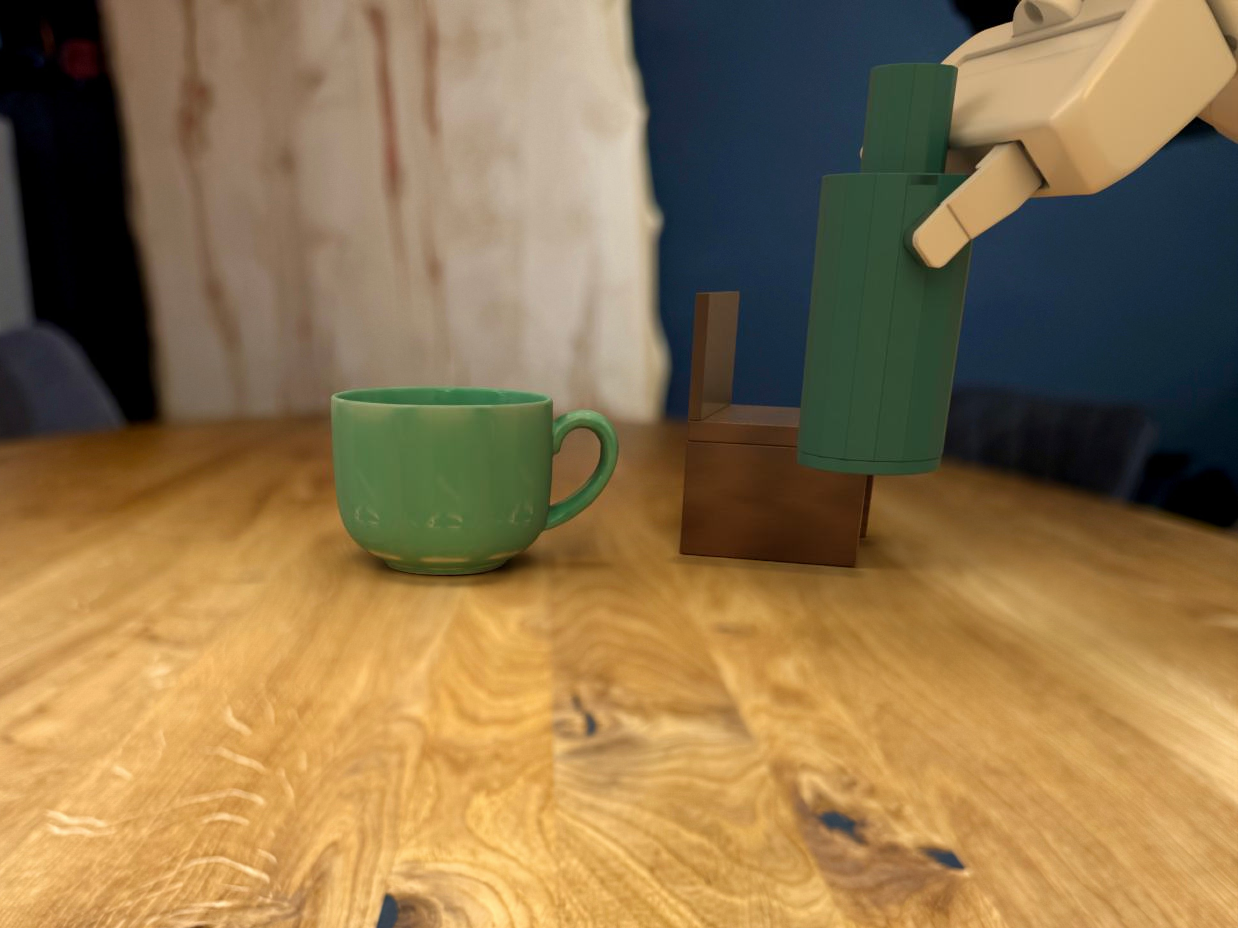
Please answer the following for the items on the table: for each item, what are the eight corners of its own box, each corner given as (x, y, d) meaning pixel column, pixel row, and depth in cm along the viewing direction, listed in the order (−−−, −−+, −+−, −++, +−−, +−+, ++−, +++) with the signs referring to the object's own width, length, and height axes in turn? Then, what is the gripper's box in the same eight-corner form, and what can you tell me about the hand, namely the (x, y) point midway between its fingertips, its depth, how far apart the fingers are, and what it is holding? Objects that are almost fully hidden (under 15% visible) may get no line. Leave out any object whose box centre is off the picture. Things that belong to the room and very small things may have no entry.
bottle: (915, 454, 65) (966, 78, 58) (959, 475, 59) (1021, 59, 52) (783, 453, 65) (817, 75, 58) (813, 474, 59) (856, 55, 52)
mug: (322, 583, 73) (312, 401, 69) (353, 540, 84) (346, 382, 80) (618, 590, 73) (627, 409, 69) (610, 547, 84) (616, 390, 80)
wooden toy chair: (866, 533, 91) (897, 295, 84) (854, 567, 80) (887, 298, 74) (710, 522, 93) (727, 290, 87) (679, 553, 83) (696, 292, 76)
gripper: (972, -23, 63) (761, 202, 66) (1245, -128, 45) (939, 187, 48) (1040, 90, 66) (834, 301, 69) (1322, 32, 48) (1029, 321, 51)
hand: (879, 254), depth 58 cm, fingers closed on bottle, 7 cm apart
